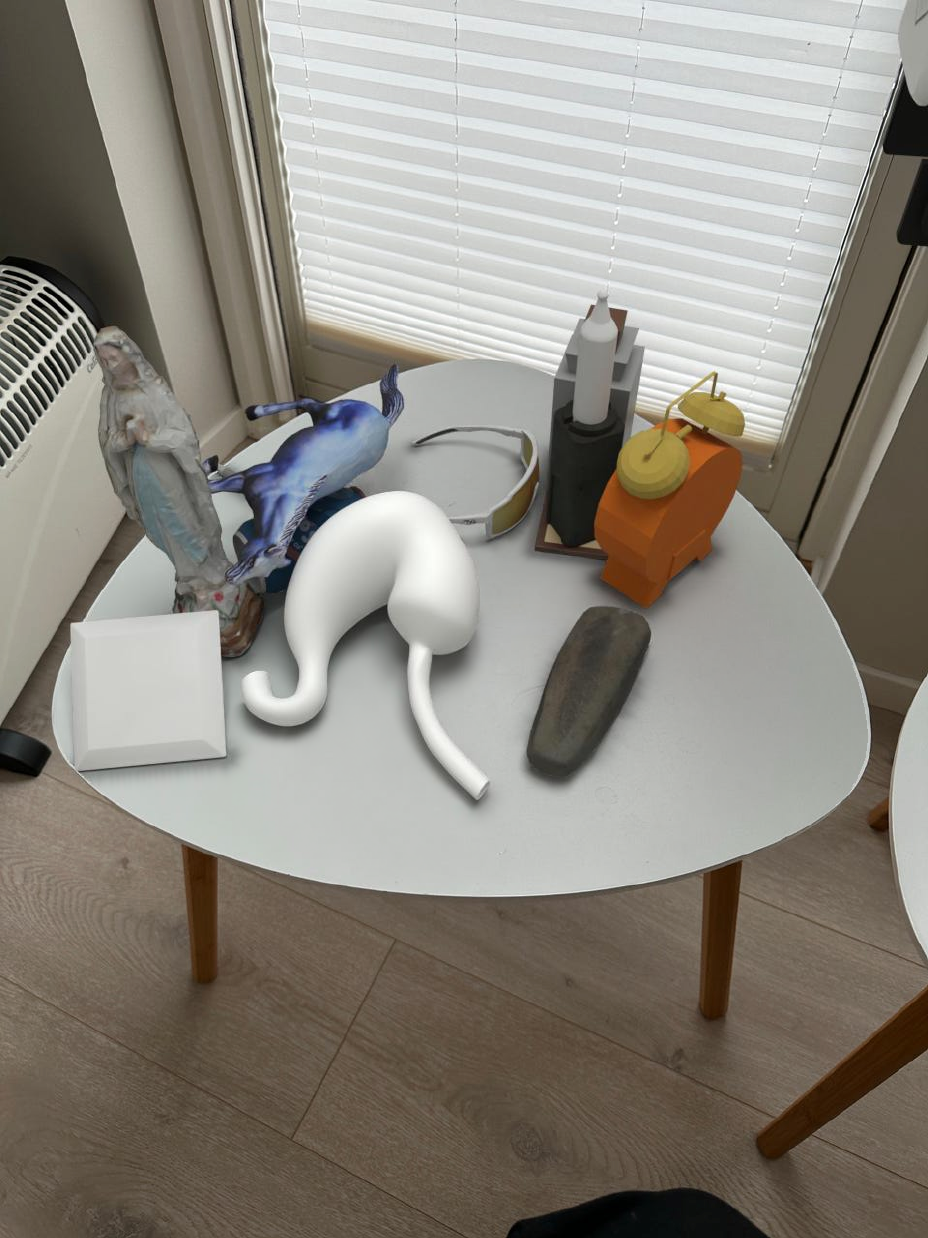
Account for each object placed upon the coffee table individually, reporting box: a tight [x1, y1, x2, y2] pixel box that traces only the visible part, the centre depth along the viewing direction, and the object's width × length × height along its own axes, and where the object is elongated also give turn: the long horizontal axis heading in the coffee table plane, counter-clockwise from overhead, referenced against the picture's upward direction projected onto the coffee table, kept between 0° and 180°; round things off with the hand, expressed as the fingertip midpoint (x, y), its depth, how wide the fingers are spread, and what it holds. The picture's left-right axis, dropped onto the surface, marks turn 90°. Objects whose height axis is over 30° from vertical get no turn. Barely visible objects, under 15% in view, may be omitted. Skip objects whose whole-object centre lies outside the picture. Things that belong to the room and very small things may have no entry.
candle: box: [546, 288, 625, 547], centre depth 80 cm, size 5×5×25 cm
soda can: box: [231, 485, 367, 595], centre depth 85 cm, size 7×7×12 cm
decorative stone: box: [525, 605, 652, 778], centre depth 76 cm, size 17×6×4 cm, turn 155°
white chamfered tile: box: [69, 610, 227, 772], centre depth 77 cm, size 12×12×5 cm
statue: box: [92, 325, 266, 658], centre depth 72 cm, size 8×7×30 cm
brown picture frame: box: [534, 490, 609, 561], centre depth 92 cm, size 7×14×1 cm, turn 168°
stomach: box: [240, 490, 491, 801], centre depth 76 cm, size 23×13×24 cm
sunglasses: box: [411, 424, 540, 538], centre depth 93 cm, size 14×15×5 cm
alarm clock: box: [594, 370, 746, 610], centre depth 80 cm, size 13×6×20 cm, turn 135°
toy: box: [201, 363, 405, 585], centre depth 82 cm, size 8×28×15 cm
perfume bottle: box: [546, 304, 646, 492], centre depth 87 cm, size 7×7×18 cm
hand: (918, 195), depth 50 cm, fingers open, 9 cm apart
